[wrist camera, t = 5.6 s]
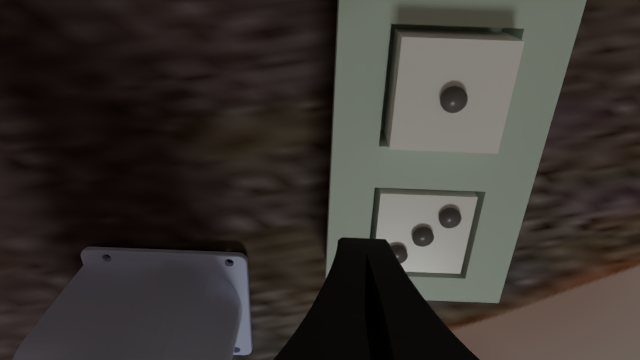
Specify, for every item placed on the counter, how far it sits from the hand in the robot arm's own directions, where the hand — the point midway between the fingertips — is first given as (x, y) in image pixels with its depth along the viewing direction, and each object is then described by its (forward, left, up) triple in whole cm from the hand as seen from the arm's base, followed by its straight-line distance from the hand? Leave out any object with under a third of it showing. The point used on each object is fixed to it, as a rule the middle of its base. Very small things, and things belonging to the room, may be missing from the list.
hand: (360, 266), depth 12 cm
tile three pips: (+4, -4, -9) cm, 11 cm away
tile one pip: (+4, +3, -8) cm, 10 cm away
